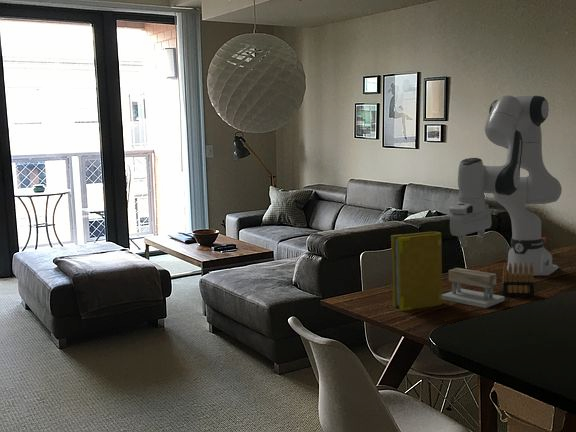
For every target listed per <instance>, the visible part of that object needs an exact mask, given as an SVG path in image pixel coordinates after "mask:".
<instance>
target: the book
mask: <svg viewBox="0 0 576 432" xmlns="http://www.w3.org/2000/svg"><path fill="white" fill-rule="evenodd" d="M390 242H391V255H392V256H391V262H392V307H394V308H398V310H399V311H401V312H403V311H410V310H415V309H422V308H431V307H436V306H437V307H438V306H442V305H443V299H442V294H443V263H442V262H443V258H442V257H443V256H442V255H443V253H442V249H443V248H442V232H440V231H424V232H414V233H406V234H405V233H404V234H393V235H390Z"/></svg>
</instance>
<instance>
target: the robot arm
mask: <svg viewBox="0 0 576 432" xmlns="http://www.w3.org/2000/svg"><path fill="white" fill-rule="evenodd" d="M549 109H550V108H549V102H548V100H547V99H546V98H545V97H544V96H542V95H520V96H519V95H518V96H514V95H507V94H506V95H502V96H501V97H499V98H498V99H495V100H494V101H493V102H491V104H490V106H489V109H488V110H489V111H488V116H487V120H486V122H485V126H484V132H485V135H486V137H487V139H488V141H490V142H491V143H492V144H495V145H496V146H499V147H501V148H505V149H507V156H506V163H505V164H503V165H500V166H496V165H484V163H483V160H482V158H479V157H469V158H465V159H462V160H461V161H459V164H458V169H457V170H458V172H457V187H458V195H457V201H456V202H454V203H453V204H452V205H451V206H450V207H449V208H448V209H449V213H450V217H449V232H450V234H451V236H455V237H457V238H458V240H459V242H460V248H467V247H468V241H466V235H469V234H472V233H476V232H477V235H476V237H475V242H476V243H478V244H481V243H483V241H484V240H483V239H484V235H485V232H486V231H485V230H486V229H490V228H491V227H492V224H493V223H492V222H493V221H492V213H491V209H490V206H489V204H488V203H487V202H485V201H486V200H485V194H491V195H493V198H494V199H495V201H496V202H497V203H499V204H500V205H501V206H502V207H504V208H505V210H506V211H507V213H508V214H509V217H510V221H511V233H512V234H511V236H512V237H511V238H510V247H511V248H510V249H509V250H508V255H507V256H508V257H507V265H506V266H507V271H508V269H509V263H511V265H512V274H513V271H514V264H515V263H516V265H517V273H519V265H520V263H521V264H522V272H523V275H524V266H525V263H527V267H528V277H529V268H530V264H531V263H532V265H533V274H534V276H535V277H536V276H550V275H551V274H552V273H554V272H555V271H557V270H558V269H559V266H558V265H557V264H553V255H552V253H550V251H548V250H547V249H546V248H545V246H544V244H545V243H546V242H547V237H542V220H541V218H540V217H539V216H538V215H537V214H535V213H533V212H531V211H528V210H527V209H526V208H525V206H527V205H547V204H551V203H555V202H557V201H558V200H559V199H560V197H561V195H562V191H563V190H562V185H561V182H560V181H559V179H557V178H556V177H555V176H554V175H552V174H551V173H550V172H549V171H548V169H547V168H546V165H545V164H544V159H543V151H542V150H543V149H542V147H543V142H542V141H543V139H542V138H543V137H542V127H541V125H542V124H543V123H544V122H545V121H546V120H547V118H548V116H549V111H550V110H549ZM521 169H522V170H525V171H527V173H528V176H521Z"/></svg>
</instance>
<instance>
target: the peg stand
mask: <svg viewBox="0 0 576 432" xmlns="http://www.w3.org/2000/svg"><path fill="white" fill-rule="evenodd" d="M505 297H506V296H503V295H499V294H494V286H493V287H490V288H484V287H483V291H477V290H476V291H475V290H472V289H466V288H462V283H456V282H451V291H449V292H446V293H442V301H449V302H452V303H458V304H463V305H468V306H472V307H477V308H482V309H487V308H489V307H492V306H495V305H497V304H499V303H502V302H505Z"/></svg>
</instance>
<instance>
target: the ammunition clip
mask: <svg viewBox="0 0 576 432" xmlns="http://www.w3.org/2000/svg"><path fill="white" fill-rule="evenodd" d="M507 266H508V265H507V263H506V262H504V263H503V266H502V267H503V268H502V269H503V271H502V290H501V292H502V293H501V296H505V297H535V286H534V285H535V281H534V280H535V279H534V274H533V265H532V263H531V264H530V268H529V276H528V267H527V263H525V266H524V275H523V272H522V264H521V263H520V265H519V273H517V265H516V263H515V264H514V271H513V274H512V265H511V263H509V269H508V270H507Z"/></svg>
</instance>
